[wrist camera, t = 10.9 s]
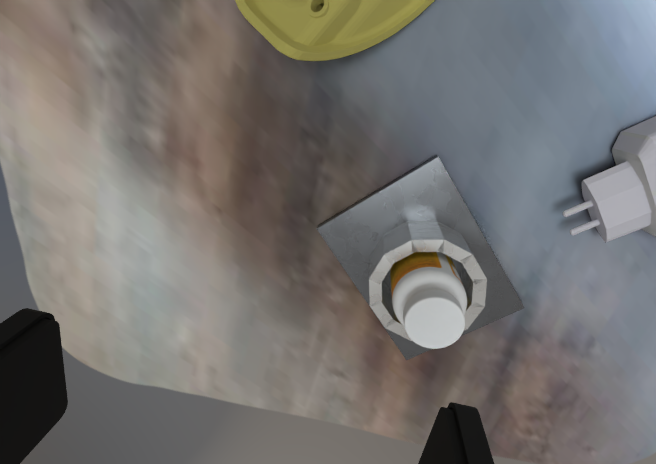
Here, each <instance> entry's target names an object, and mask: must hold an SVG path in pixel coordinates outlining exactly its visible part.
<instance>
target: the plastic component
mask: <svg viewBox="0 0 656 464" xmlns="http://www.w3.org/2000/svg"><path fill="white" fill-rule="evenodd" d="M235 1H236V3H237V6H238V8H239V10H240V11H241V13H242V14H243V16H244V17H245V18H246V19H247V20H248V21H249V22H250V23H251V24H252V26H253V27H254V28H256V29H257V30H258V31H259V32H260V33H261V34H262V35H263V36H264V37H265V38H266V39H267V40H268V41H269V42H270V43H271V44H272V45H273V46H274V47H275V48H276V49H277V50H278V51H280V52H281V53H283V54H285V55H287V56H288V57H290V58H293V59H296V60H304V61H325V60H331V59H337V58H341V57H345V56H348V55H352V54H355V53H357V52H360V51H363V50H365V49H367V48H369V47H372V46H374V45H376V44H378V43H380V42H381V41H383V40H385V39H387V38H388V37H390V36H392V35H393V34H395V33H396V32H398V31H399V30H401V29H402V28H403V27H405V26H406V25H407V24H409V23H410V22H411V21H412V20H414V19H415V18H416V17H417V16H418V15H419V14H421V13H422V12H423V11H424V10H425V9H426V8H427V7H428V6H429V5H430V4H432V3H433V2H434V1H435V0H235Z"/></svg>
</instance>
